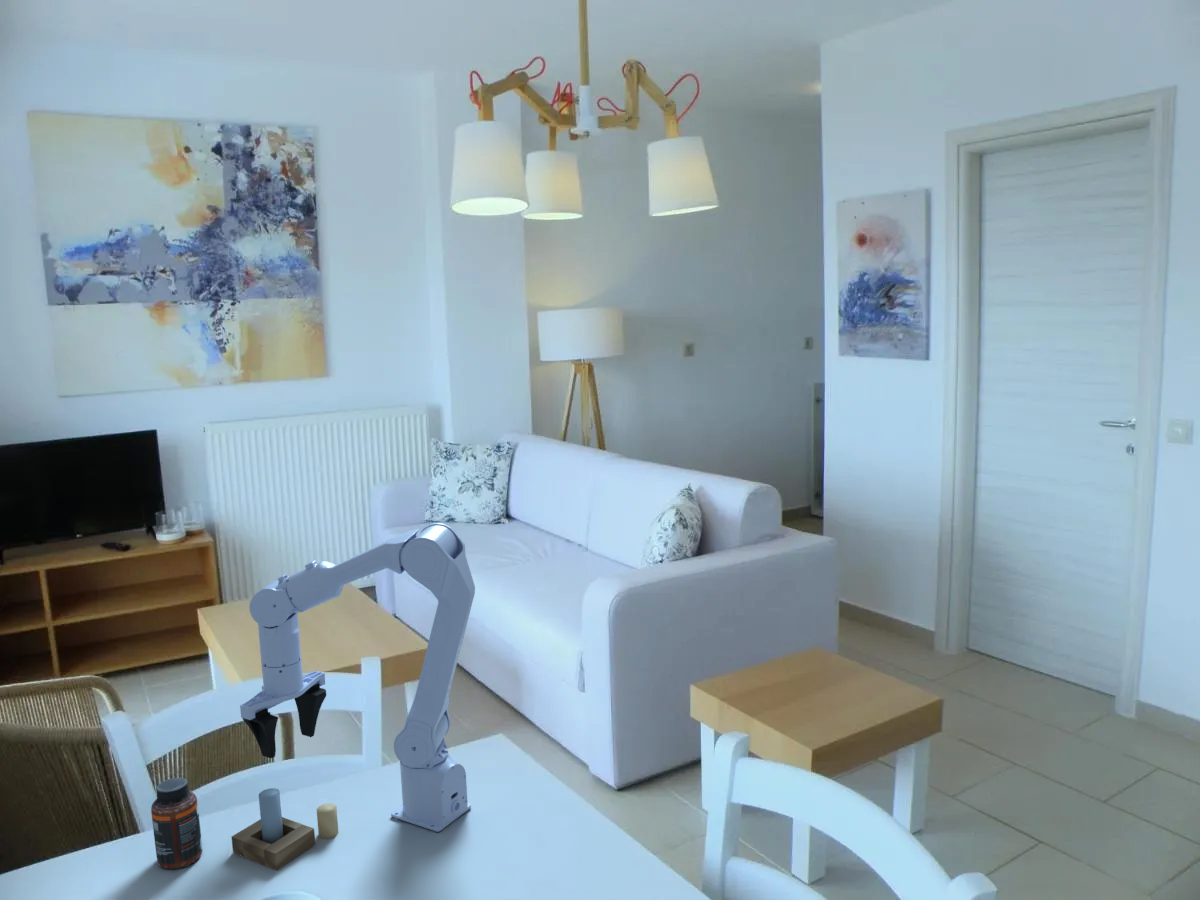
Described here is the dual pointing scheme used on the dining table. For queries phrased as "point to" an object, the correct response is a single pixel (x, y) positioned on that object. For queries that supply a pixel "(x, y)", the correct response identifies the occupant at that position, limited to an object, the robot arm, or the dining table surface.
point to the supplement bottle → (176, 824)
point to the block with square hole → (274, 844)
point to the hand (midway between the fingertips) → (288, 745)
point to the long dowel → (270, 815)
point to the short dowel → (327, 821)
